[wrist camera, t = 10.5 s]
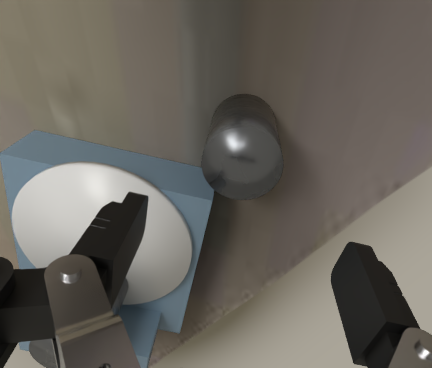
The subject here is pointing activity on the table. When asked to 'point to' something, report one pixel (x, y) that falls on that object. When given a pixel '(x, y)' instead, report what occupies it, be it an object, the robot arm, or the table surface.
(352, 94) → the table surface
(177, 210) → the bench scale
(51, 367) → the cylinder
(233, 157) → the cylinder
